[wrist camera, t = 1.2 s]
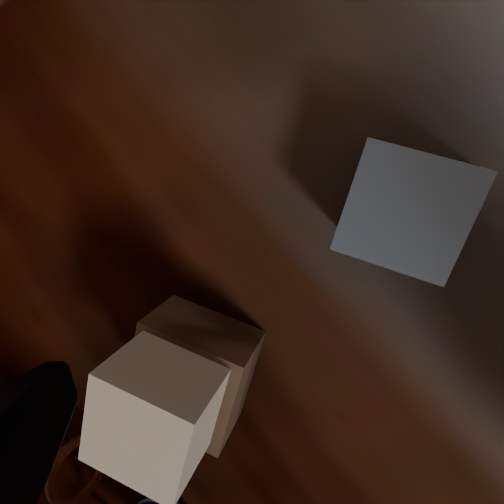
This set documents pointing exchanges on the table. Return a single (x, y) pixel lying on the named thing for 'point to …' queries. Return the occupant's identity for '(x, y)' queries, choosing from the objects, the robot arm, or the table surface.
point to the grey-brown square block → (211, 352)
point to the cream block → (151, 415)
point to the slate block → (411, 210)
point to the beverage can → (149, 501)
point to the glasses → (50, 485)
